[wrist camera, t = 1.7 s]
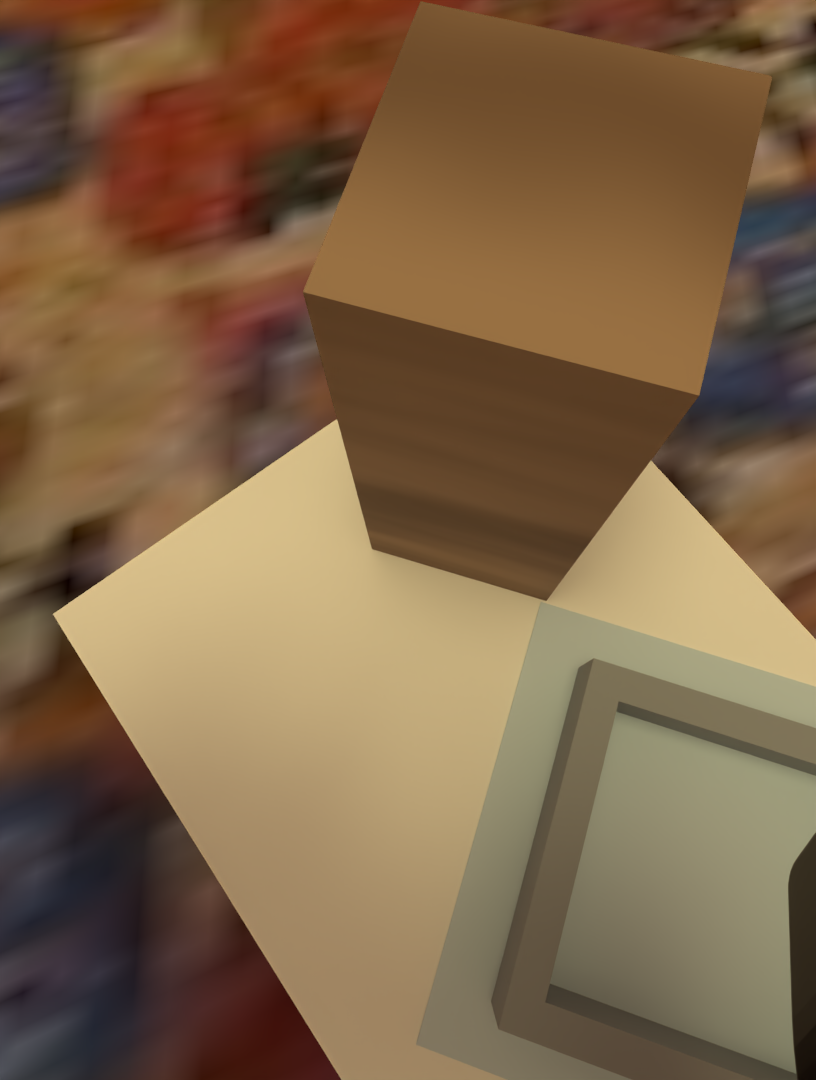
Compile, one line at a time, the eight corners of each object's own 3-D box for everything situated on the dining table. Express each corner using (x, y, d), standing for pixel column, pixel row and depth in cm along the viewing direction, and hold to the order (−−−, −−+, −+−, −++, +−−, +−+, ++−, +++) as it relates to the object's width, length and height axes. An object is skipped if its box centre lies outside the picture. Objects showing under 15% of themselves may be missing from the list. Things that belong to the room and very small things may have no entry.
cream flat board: (738, 1705, 15) (799, 1891, 12) (61, 617, 21) (14, 599, 19) (1286, 1096, 17) (1425, 1151, 15) (533, 292, 24) (544, 239, 21)
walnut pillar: (546, 601, 20) (699, 394, 9) (372, 549, 21) (302, 291, 9) (589, 438, 22) (772, 76, 10) (424, 393, 22) (420, 0, 11)
